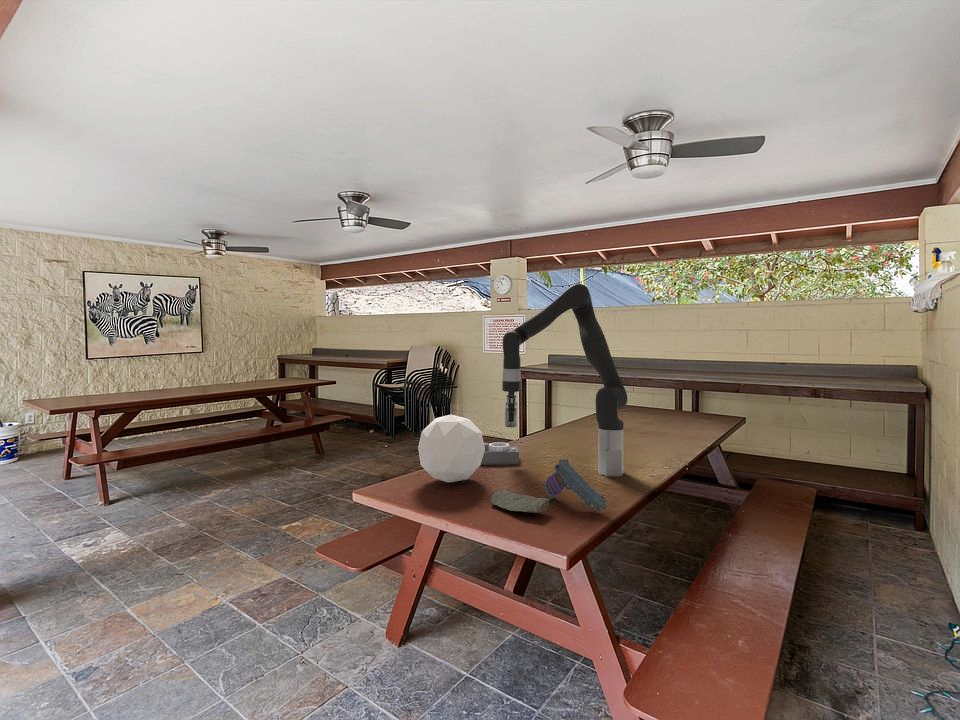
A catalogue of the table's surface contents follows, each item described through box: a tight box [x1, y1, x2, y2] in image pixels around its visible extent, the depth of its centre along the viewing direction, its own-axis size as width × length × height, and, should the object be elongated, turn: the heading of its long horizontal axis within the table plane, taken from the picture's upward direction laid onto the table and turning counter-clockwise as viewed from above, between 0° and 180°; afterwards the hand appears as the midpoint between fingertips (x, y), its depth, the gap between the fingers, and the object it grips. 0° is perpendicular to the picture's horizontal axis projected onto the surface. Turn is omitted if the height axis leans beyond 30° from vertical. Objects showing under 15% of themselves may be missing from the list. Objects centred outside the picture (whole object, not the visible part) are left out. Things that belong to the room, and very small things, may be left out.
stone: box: [490, 489, 550, 514], centre depth 154 cm, size 21×4×10 cm
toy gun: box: [542, 458, 608, 512], centre depth 156 cm, size 4×21×15 cm
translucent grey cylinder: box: [504, 401, 518, 428], centre depth 205 cm, size 5×5×10 cm
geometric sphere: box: [417, 414, 485, 483], centre depth 181 cm, size 24×25×25 cm
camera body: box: [480, 441, 520, 466], centre depth 209 cm, size 10×16×8 cm, turn 89°
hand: (510, 420), depth 206 cm, fingers closed on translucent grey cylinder, 5 cm apart
